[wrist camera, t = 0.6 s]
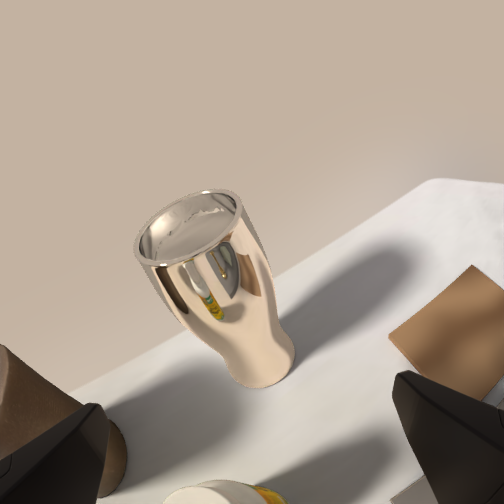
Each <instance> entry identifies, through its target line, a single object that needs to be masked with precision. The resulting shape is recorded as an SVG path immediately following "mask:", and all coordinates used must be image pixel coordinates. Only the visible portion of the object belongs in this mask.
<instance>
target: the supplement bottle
mask: <svg viewBox="0 0 504 504" xmlns="http://www.w3.org/2000/svg"><path fill="white" fill-rule="evenodd" d="M163 504H289V503H288V502H287V500H286V499H285V498H284V497H282V496H281V495H280V494H278V493H277V492H275V491H273V490H270V489H267V488H263V487H258V486H253V485H248V484H244V483H240V482H236V481H230V480H212V481H207V482H203V483H200V484H198V485H196V486H189V487H184V488H181V489H179V490H177V491H175V492H173V493H172V494H171V495H170V496H168V497H167V499H166V500H165V501H164V503H163Z"/></svg>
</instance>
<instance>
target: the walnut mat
mask: <svg viewBox="0 0 504 504" xmlns="http://www.w3.org/2000/svg"><path fill="white" fill-rule="evenodd" d="M388 338H389V339H390V340H391V341H392V342H393V343H394V345H395V346H396V347H397V348H398V349H399V350H400V351H401V352H402V353H403V355H404V356H405V357H406V358H407V359H408V360H409V361H410V362H411V364H412V365H413V366H414V367H415V368H416V369H417V370H418V371H419V373H420V374H421V375H422V376H424V377H426V378H428V379H430V380H433V381H435V382H437V383H440V384H442V385H444V386H446V387H449V388H451V389H453V390H456V391H458V392H460V393H463V394H465V395H468V396H470V397H472V398H475V399H477V400H480V401H481V400H482V399H483V398H484V397H485V396H486V395H487V394H488V393H489V392H490V390H491V389H492V388H493V387H494V386H495V385H496V383H497V382H498V381H499V380H500V379H501V377H502V376H503V375H504V290H503V289H501V288H500V287H499V286H498V285H497V284H495V283H494V282H493V281H492V280H491V279H489V278H488V277H487V276H486V275H484V274H483V273H482V272H481V271H479V270H478V269H477V268H476V267H474V266H473V265H471V266H470V267H469V268H468V269H467V270H466V271H465V272H463V273H462V274H461V275H460V276H459V277H458V278H457V279H456V280H455V281H454V282H453V283H451V284H450V285H449V286H448V287H447V288H446V289H445V290H444V291H442V292H441V293H440V294H439V295H438V296H437V297H435V298H434V299H433V300H432V301H431V302H429V303H428V304H427V305H426V306H425V307H423V308H422V309H421V310H420V311H419V312H417V313H416V314H415V315H413V316H412V317H411V318H410V319H408V320H407V321H406V322H405V323H403V324H402V325H401V326H399V327H398V328H397V329H395V330H394V331H393V332H391V333H390V334H389V337H388Z"/></svg>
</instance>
